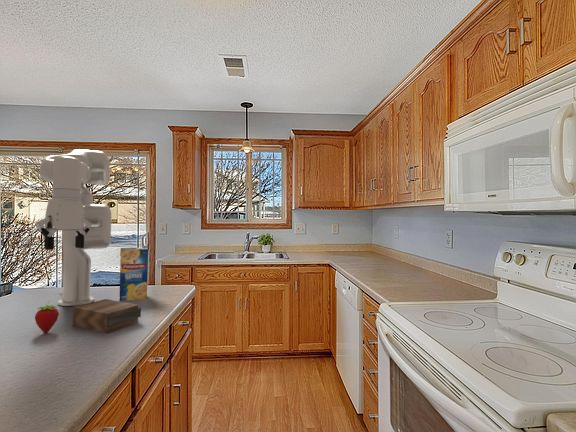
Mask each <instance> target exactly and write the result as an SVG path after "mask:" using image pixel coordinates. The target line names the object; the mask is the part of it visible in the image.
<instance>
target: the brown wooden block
mask: <svg viewBox="0 0 576 432" xmlns="http://www.w3.org/2000/svg"><path fill="white" fill-rule="evenodd" d="M141 308H142V307H139V304H137V303H130V302H124V301H119V300H112V299H108V298H107V299H106V298H105V299H101V300H98V301H93V302H91V303H88V304H83V305H76V306H73V307H72V326H74V327H78V328H83V329H87V330H92V331H95V332H101V333H104V334H109V333H111V332H114V331H117V330H120V329H122V328H125V327H128V326H131V325H134V324H136V323H139V318H141V316H142V309H141Z"/></svg>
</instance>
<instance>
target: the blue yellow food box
mask: <svg viewBox="0 0 576 432" xmlns="http://www.w3.org/2000/svg"><path fill="white" fill-rule="evenodd" d="M119 253H120V258H119V259H120V263H119V266H120V267H119V271H120V272H119V297H120V298H119V300H118V301H120V302H124V301H135V300H146V299H148V273H149V272H148V269H149V265H148V264H149V248H148V247H120V252H119Z"/></svg>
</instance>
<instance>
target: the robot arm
mask: <svg viewBox="0 0 576 432" xmlns="http://www.w3.org/2000/svg"><path fill="white" fill-rule="evenodd" d="M110 167H111V166H110V160H109V157H108V155H107V154H106V153H105V152H104V151H100V150H90V149H80V148H79V149H78V148H77V149H73V150H71V151H70V152H69V153H64V154H58V155H57V154H56V155H48V156H46V157H45V158H43V160H42V161H41V163H40V165H39V173H40V177H41V178H42V180H44V181H45V182H48V183H49V182H50V183H52V196H51V197H52V198H50V199H49V200H48V203H47V206H46V210H45V217H44V218H42V219H39V221H36V222H35V226H36V228H37V229H38V232H39V233H40V234H41V235H42V236H43V237H44V242H43V244H44V250H45V251H53V250H54V248H55V237H54V236H53V235H55V233H56V232H57V231H62V232H61V242H62V249H63V279H62V283H63V284H62V291H60V292H59V296H61V299H59V300H58V301H57V305H58V306H61V307H62V306H63V307H72V306H73V307H76V306H80V305H84V304H88V303H92V302H95V297H94V296H93V295H92V296H91V278H92V277H91V273H92V271H91V270H92V260H91V257H90V255H89V254H88V253H87V252H86V251H85V250H96V249H97V250H98V249H99V250H101V249H102V250H103V249H107V248H108V247H109V246H110V244H111V239H112V209H111V208H110V206H108V205H106V204H101V203H100V204H97V203H94V196H93V194H92V192H91V191H90V190H89V188H87V186H84V185H86V184H87V185H100V186H101V185H107V184H109V183H110V179H111V169H110Z"/></svg>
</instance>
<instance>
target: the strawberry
mask: <svg viewBox="0 0 576 432" xmlns="http://www.w3.org/2000/svg"><path fill="white" fill-rule="evenodd" d="M50 301H51V300H49V301H48V302H47V303H46V304H45V306H40V307H37V312H36V313H35V315H34V321H35V323H36V325H37V327H38V328H39V329H40V330H41V331H42V333H43V334H47V333H49V332H50V330H51V329H52V328H53V326H55V324H56V322H57V321H58V318H59V315H60V313H59V312H60V311H59V310H58V309H57V306H54V305H48V304H49V303H50Z"/></svg>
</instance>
